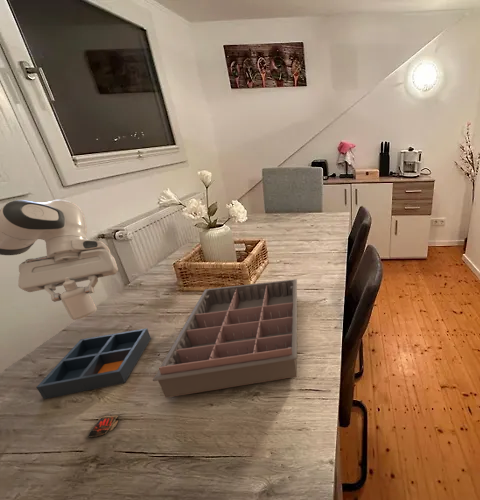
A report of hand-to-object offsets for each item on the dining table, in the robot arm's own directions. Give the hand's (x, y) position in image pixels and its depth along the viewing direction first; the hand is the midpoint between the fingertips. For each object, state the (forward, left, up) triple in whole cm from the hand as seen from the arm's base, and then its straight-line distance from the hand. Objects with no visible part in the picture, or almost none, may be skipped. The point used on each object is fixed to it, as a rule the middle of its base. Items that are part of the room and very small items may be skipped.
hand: (73, 296), depth 77 cm
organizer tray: (+43, -8, -19) cm, 47 cm away
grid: (+5, -8, -18) cm, 21 cm away
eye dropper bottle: (0, +1, -7) cm, 7 cm away
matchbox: (+15, -29, -18) cm, 38 cm away
